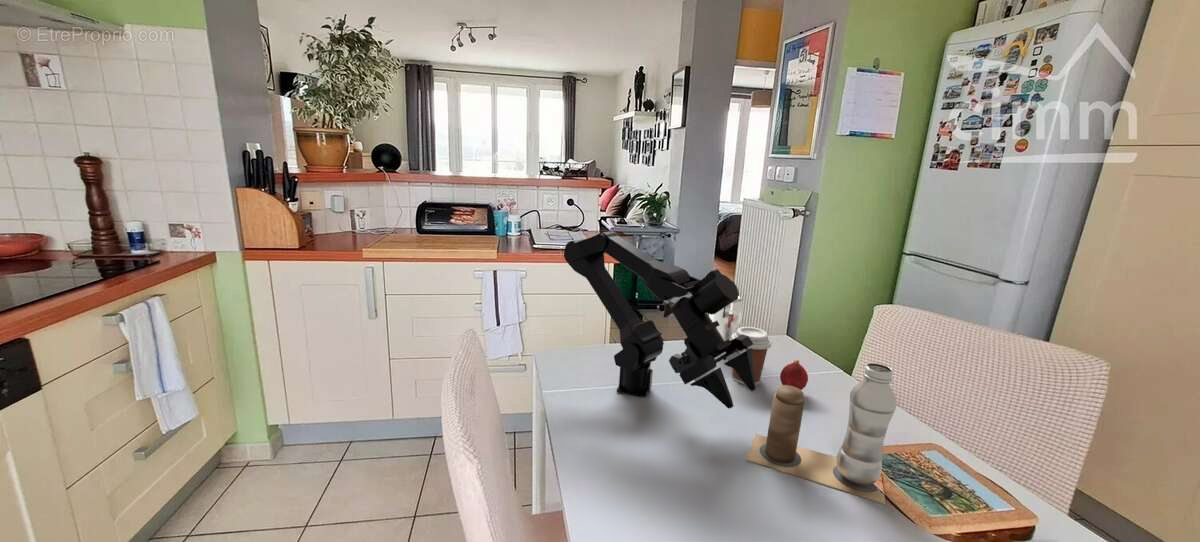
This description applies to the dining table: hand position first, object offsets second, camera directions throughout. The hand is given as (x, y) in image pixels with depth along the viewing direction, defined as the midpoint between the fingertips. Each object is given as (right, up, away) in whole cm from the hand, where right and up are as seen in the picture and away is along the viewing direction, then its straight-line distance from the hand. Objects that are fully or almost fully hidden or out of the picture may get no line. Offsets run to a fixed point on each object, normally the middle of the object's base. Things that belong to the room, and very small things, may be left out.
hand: (742, 398), depth 87 cm
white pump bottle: (+7, +2, +41) cm, 42 cm away
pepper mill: (+6, -9, -3) cm, 11 cm away
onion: (+17, -4, +20) cm, 27 cm away
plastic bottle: (+16, -11, -8) cm, 21 cm away
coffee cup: (+8, -2, +25) cm, 27 cm away
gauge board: (+11, -10, -6) cm, 16 cm away
